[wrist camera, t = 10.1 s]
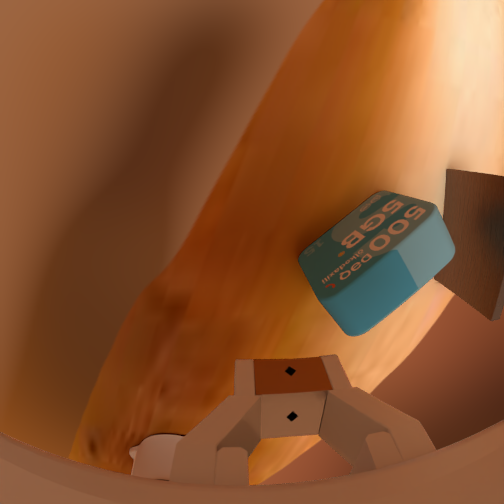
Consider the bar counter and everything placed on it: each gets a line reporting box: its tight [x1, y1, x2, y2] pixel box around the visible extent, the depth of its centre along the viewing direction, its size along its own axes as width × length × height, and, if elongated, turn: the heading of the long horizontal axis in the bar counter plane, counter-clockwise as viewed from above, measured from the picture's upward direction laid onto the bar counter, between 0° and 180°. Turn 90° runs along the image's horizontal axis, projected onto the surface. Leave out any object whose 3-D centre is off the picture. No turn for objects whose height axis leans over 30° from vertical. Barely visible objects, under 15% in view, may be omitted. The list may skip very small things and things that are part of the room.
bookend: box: [434, 169, 504, 321], centre depth 26 cm, size 14×4×12 cm, turn 0°
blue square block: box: [298, 191, 455, 336], centre depth 26 cm, size 12×4×12 cm, turn 129°
